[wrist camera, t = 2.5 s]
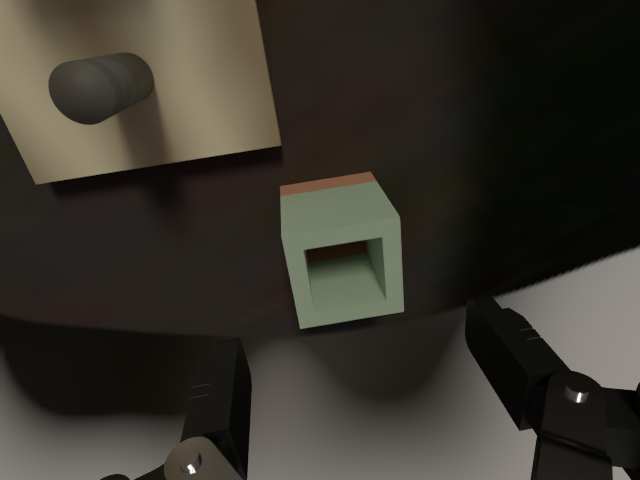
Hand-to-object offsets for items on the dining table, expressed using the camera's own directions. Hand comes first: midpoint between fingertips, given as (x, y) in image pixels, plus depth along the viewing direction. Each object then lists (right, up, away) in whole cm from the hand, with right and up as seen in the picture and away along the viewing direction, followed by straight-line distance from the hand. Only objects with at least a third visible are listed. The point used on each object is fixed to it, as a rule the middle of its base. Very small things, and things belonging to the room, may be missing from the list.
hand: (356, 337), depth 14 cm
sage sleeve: (-1, +5, +9) cm, 10 cm away
